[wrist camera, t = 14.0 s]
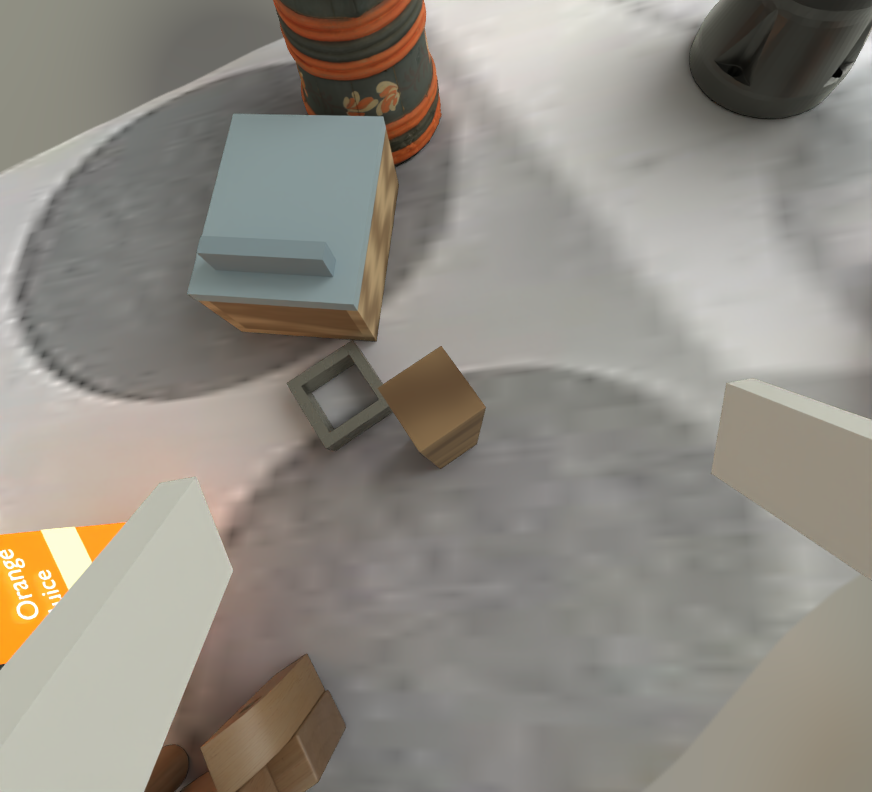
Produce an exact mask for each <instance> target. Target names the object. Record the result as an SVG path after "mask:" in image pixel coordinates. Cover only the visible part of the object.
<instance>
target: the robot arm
mask: <svg viewBox="0 0 872 792" xmlns="http://www.w3.org/2000/svg"><path fill="white" fill-rule="evenodd" d="M871 31H872V0H720V1H719V2H718V3H717V4H716V5H715V6H714V8H713V9H712V10H711V11H710V12H709V14H708V15H707V17H706V18H705V20H704V22H703V24H702V26H701V28H700V30H699V32H698V34H697V36H696V38H695V39H694V41H693V44H692V47H691V50H690V67H691V71H692V74H693V77H694V79H695V81H696V82H697V84H698V85H699V87H700V88H701V89H702V91H703V92H704V93H705V94H706V95H707V96H708V97H710V98H711V99H712V100H713V101H715V102H716V103H718V104H719V105H721V106H723V107H725V108H727V109H729V110H731V111H733V112H736V113H739V114H742V115H746V116H751V117H757V118H783V117H789V116H793V115H797V114H800V113H803V112H805V111H808V110H810V109H812V108H813V107H815V106H816V105H818V104H819V103H821V102H822V101H823V100H824V99H825V98H826V97H827V96H828V95H829V94H830V93H831V92H832V91H833V90H834V89H835V87H836V86H837V85H838V84H839V83H840V82H841V81H842V80H843V79H844V77H845V76H846V75H847V74H848V72H849V71H850V69H851V68H852V66H853V64H854V62H855V61H856V59H857V57H858V55H859V53H860V51H861V49H862V47H863V46H864V44H865V42H866V40H867V38H868V36H869V34H870V32H871ZM711 474H713V475H714V476H716V477H717V478H719V479H720V480H722V481H723V482H725V483H726V484H728V485H729V486H731V487H732V488H734V489H735V490H737V491H738V492H740V493H741V494H743V495H744V496H746V497H747V498H749V499H750V500H752V501H753V502H755V503H756V504H758V505H759V506H761V507H762V508H764V509H765V510H767V511H768V512H770V513H771V514H773V515H774V516H776V517H777V518H779V519H780V520H782V521H783V522H785V523H786V524H788V525H789V526H791V527H792V528H794V529H795V530H797V531H798V532H800V533H801V534H803V535H804V536H806V537H807V538H809V539H810V540H812V541H813V542H815V543H816V544H818V545H819V546H821V547H822V548H824V549H825V550H827V551H828V552H830V553H831V554H833V555H834V556H836V557H837V558H839V559H840V560H842V561H843V562H844V563H846V564H847V565H849V566H850V567H852V568H853V569H855V570H856V571H858V572H859V573H861V574H862V575H864V576H865V577H867V578H868V579H870V580H871V581H872V420H871V419H868V418H865V417H862V416H859V415H856V414H854V413H851V412H848V411H845V410H842V409H839V408H836V407H834V406H831V405H828V404H825V403H822V402H819V401H817V400H814V399H811V398H808V397H805V396H802V395H799V394H797V393H794V392H791V391H788V390H785V389H782V388H780V387H777V386H774V385H771V384H768V383H765V382H763V381H760V380H757V379H754V378H751V379H745V380H740V381H734V382H728V383H726V389H725V395H724V401H723V406H722V412H721V418H720V424H719V430H718V436H717V442H716V448H715V454H714V460H713V465H712V471H711ZM232 572H233V569H232V566H231V564H230V561H229V559H228V556H227V554H226V551H225V549H224V546H223V544H222V541H221V538H220V536H219V533H218V531H217V528H216V526H215V523H214V521H213V518H212V516H211V513H210V511H209V508H208V505H207V503H206V500H205V498H204V495H203V493H202V490H201V488H200V485H199V483H198V480H197V478H196V477H191V478H185V479H179V480H174V481H168V482H162V483H159V484H158V486H157V487H156V488H155V489H154V490H153V492H152V493H151V494H150V495H149V496H148V497H147V499H146V500H145V501H144V502H143V503H142V504H141V506H140V507H139V508H138V509H137V510H136V511H135V513H134V514H133V515H132V516H131V517H130V519H129V520H128V521H127V522H126V523H125V524H124V526H123V527H122V528H121V529H120V530H119V531H118V533H117V534H116V535H115V536H114V537H113V538H112V540H111V541H110V542H109V543H108V544H107V546H106V547H105V548H104V549H103V550H102V551H101V553H100V554H99V555H98V556H97V557H96V558H95V560H94V561H93V562H92V563H91V564H90V565H89V567H88V568H87V569H86V570H85V571H84V572H83V574H82V575H81V576H80V577H79V578H78V580H77V581H76V582H75V583H74V584H73V585H72V587H71V588H70V589H69V590H68V591H67V592H66V594H65V595H64V596H63V597H62V598H61V599H60V601H59V602H58V603H57V604H56V605H55V607H54V608H53V609H52V610H51V611H50V612H49V614H48V615H47V616H46V617H45V618H44V619H43V621H42V622H41V623H40V624H39V625H38V626H37V628H36V629H35V630H34V631H33V632H32V634H31V635H30V636H29V637H28V638H27V639H26V641H25V642H24V643H23V644H22V645H21V646H20V648H19V649H18V650H17V651H16V652H15V653H14V655H13V656H12V657H11V658H10V659H9V660H8V662H7V663H5V664H0V792H144V791H145V788H146V786H147V783H148V781H149V778H150V776H151V773H152V771H153V768H154V766H155V763H156V761H157V758H158V756H159V753H160V751H161V748H162V746H163V743H164V741H165V739H166V736H167V734H168V731H169V729H170V726H171V724H172V721H173V719H174V716H175V714H176V711H177V709H178V706H179V704H180V701H181V699H182V696H183V694H184V691H185V689H186V686H187V684H188V681H189V679H190V676H191V674H192V671H193V669H194V666H195V664H196V661H197V659H198V656H199V654H200V652H201V649H202V647H203V644H204V642H205V639H206V637H207V634H208V632H209V629H210V627H211V624H212V622H213V619H214V617H215V614H216V612H217V609H218V607H219V604H220V602H221V599H222V597H223V594H224V592H225V589H226V587H227V584H228V582H229V579H230V577H231V574H232Z"/></svg>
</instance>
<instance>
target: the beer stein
mask: <svg viewBox="0 0 872 792" xmlns="http://www.w3.org/2000/svg"><path fill="white" fill-rule="evenodd" d="M273 1H274V5H275V7H276V11H277V15H278V17H279V21H280V27H281V31H282V34H283V37H284V39H285V42H286V45H287V48H288V50H289V52H290V54H291V55H292V57H293V58H294V60H295V61H296V65H297V68H298V71H299V74H300V78H301V93H302V99H303V102H304V104H305V107H306V111H307V114H308V115H331V116H383V117H384V122H385V126H386V130H387V134H388V139H389V143H390V148H391V152H392V157H393V161H394V166H395V165H398V164H400V163H403V162H404V161H405V160H407V159H409V158H411V157H412V156H413V155H415V154H416V153H417V152H418V151H420V150H421V149H422V148H423V147H424V146H425V145H426V144H427V143H428V142H429V141H430V138H431V137H432V135H433V133H434V132H435V130H436V127H437V125H438V124H439V119H440V117H441V115H442V114H441V113H440V111H441V110H440V105H441V104H440V97H439V88H438V80H437V76H436V68H435V64H434V61H433V58H432V56H431V54H430V52H429V49H428V44H427V38H426V32H425V22H426V8H425V3H424V0H273Z"/></svg>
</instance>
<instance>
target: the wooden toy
mask: <svg viewBox="0 0 872 792" xmlns="http://www.w3.org/2000/svg"><path fill="white" fill-rule="evenodd" d="M345 728H346V725H345V723H344V721H343V719H342V717H341V715H340V713H339V711H338V708H337V706H336V704H335V702H334V700H333V698H332V696H331V694H330V692H329V691H328V690H327V691H325V689H324V687H323V685H322V683H321V681H320V679H319V677H318V675H317V673H316V671H315V669H314V667H313V665H312V663H311V661H310V659H309V657H308V655H307V654H306V655H304V656H302V657H301V658H299V659H298V660H297V661H295V662H294V663H292V664H291V665H289V666H288V667H286V668H285V669H283V670H282V671H280V672H279V673H277V674H276V675H275V676H274V677H272V678H271V679H270V680H269V681H268V682H267V683H266V684H265V685H264V686H263V687H262V688H261V689H260V690H259V691H258V692H257V693H256V694H255V695H254V696H253V697H252V698H251V699H250V700H249V701H248V702H247V703H246V704H245V705H243V706H242V707H241V708H240V709H239V710H238V711H237V712H236V713H235V714H234V715H233V716H232V717H231V718H230V719H229V720H228V721H227V722H226V723H225V724H224V725H223V726H222V727H221V728H220V729H219V730H218V731H217V732H216V733H215V734H214V735H213V736H212V737H211V738H210V739H209V740H208V741H207V742H206V743H204V745H203V746H202V747H201V748H200V749H201V751H202V754H203V757H204V759H205V762H206V764H207V767H208V769H209V771H208V772H206V773H205V774H203V775H202V776H200V777H199V778H198V779H196V780H195V781H193V782H192V783H190V784H189V785H187V786H186V787H184V788H183V789H182V790H181V791H180V792H305V791H306V790H308V789H309V788H311V787H312V786H314V785H315V784H316V783H318V781H319V780H320V778H321V776H322V774H323V772H324V770H325V768H326V766H327V764H328V762H329V760H330V758H331V756H332V754H333V752H334V750H335V748H336V746H337V744H338V742H339V740H340V738H341V736H342V734H343V732H344V730H345ZM188 765H189V761H188V757H187V754H186V752H185V751H184V749H182V748H181V747H180V746H177V745H167V746H165V747H162V748H161V751H160V753H159V756H158V758H157V761H156V763H155V766H154V768H153V771H152V773H151V776H150V778H149V781H148V783H147V786H146V788H145V791H144V792H174V791H175V790H176V789H177V788H178V787H179V786H180V785H181V784H182V783H183V781H184V779H185V777H186V775H187V771H188Z"/></svg>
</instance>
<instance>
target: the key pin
mask: <svg viewBox="0 0 872 792" xmlns="http://www.w3.org/2000/svg"><path fill="white" fill-rule="evenodd" d="M378 390H379V391H380V393H381V394H382V396H383V397H384V399H385V400H386V402H387V404H388V405H389V407H390V408H391V410H392V411H393V413H394V414H395V416H396V417H397V419H398V420H399V422H400V423H401V425H402V426H403V428H404V429H405V431H406V432H407V434H408V435H409V437H410V438H411V440H412V441H413V443H414V444H415V446H416V447H417V449H418V451H419V452H420V453H421V454H422V455H424V456H425V457H426V458H427V459H429V460H430V461H431V462H432V463H434V464H435V465H436V466H437V467H439V468H440V469H441V468H443V467H444V466H446V465H447V464H449V463H450V462H452V461H453V460H454V459H456V458H457V457H459V456H460V455H462V454H463V453H465V452H466V451H467V450H469V449H470V448H472V447H473V446H475V445H476V444H477V441H478V437H479V433H480V429H481V425H482V421H483V417H484V413H485V409H486V407H485V405H484V404H483V403H482V401H481V400H480V398H479V397H478V396H477V394H476V393H475V392H474V390H473V389H472V387H471V386H470V385H469V383H468V382H467V381H466V379H465V378H464V376H463V375H462V374H461V372H460V371H459V370H458V368H457V367H456V365H455V364H454V363H453V361H452V360H451V358H450V357H449V356H448V354H447V353H446V352H445V350H444V349H443V347H442V346H440V347H439V348H437V349H436V350H434V351H433V352H431V353H430V354H428V355H427V356H425V357H424V358H422V359H421V360H419V361H418V362H416V363H415V364H413V365H412V366H410V367H409V368H407V369H406V370H404V371H403V372H401V373H399V374H398V375H396V376H395V377H393V378H392V379H390V380H389V381H387V382H386V383H384V384H383V385H381V386H380V387H378Z"/></svg>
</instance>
